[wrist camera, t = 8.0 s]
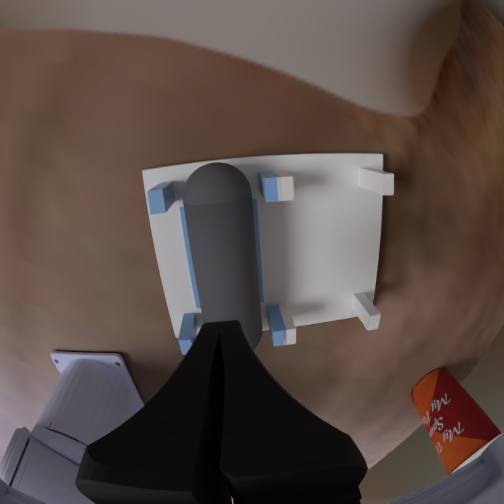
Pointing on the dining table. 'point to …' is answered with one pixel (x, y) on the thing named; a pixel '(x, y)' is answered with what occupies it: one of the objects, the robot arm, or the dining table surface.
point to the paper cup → (452, 419)
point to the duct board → (284, 239)
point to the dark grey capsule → (224, 246)
